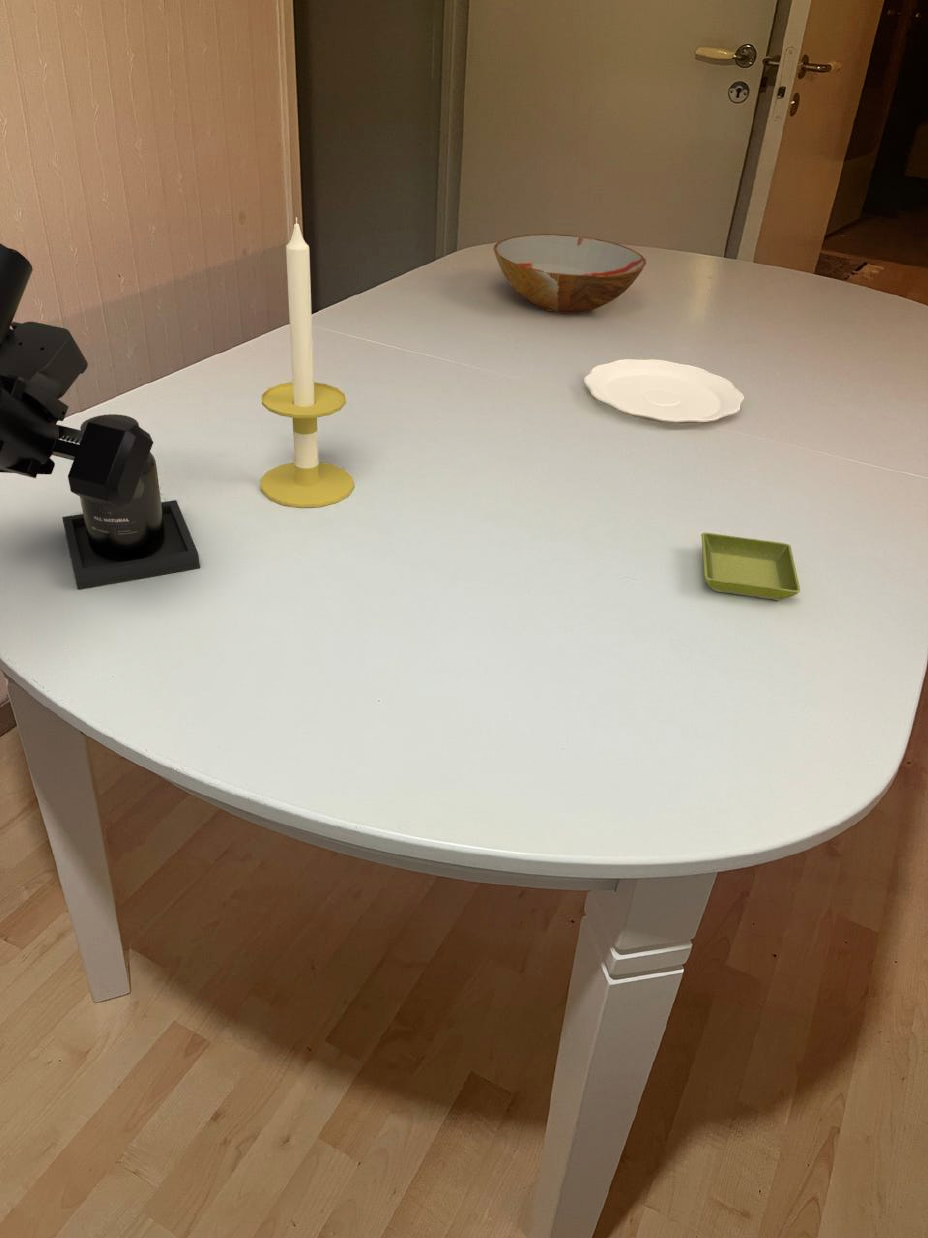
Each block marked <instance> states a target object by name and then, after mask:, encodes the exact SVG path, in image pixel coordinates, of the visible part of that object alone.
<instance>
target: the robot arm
mask: <svg viewBox="0 0 928 1238" xmlns="http://www.w3.org/2000/svg"><path fill="white" fill-rule="evenodd" d="M33 270H34V269H33V265H32V263H31V262H30V261H29V260H28V259H27V258H26V256H25V255H23V254H22V253H21V252H19V251H18V250H16V249H14V248H9V247H7V246H6V245H4V244H3V243H0V473H2V474H3V473H5V474H17V475H20V476H25V477H29V478H32V479H37V477H38V475H52V474H53V472H54V469H55V467H56V462H55V461H54V460H52V456H55V457H59V458H62V459H66V460H69V461H72V464H71V466H70V469H69V472H68V474H67V481H68V485H69V489H70V490H69V491H70V493H72V494H74V495H76V496H77V497H79V498H80V497H83V498H85V499H86V500H89V501H93V502H96V503H100V504H104V505H108V506H111V507H115V508H119V509H123V508H125V507H127V506H128V505H130V504H131V502H132V499H136V498H140V497H141V496H142V493H143V491H144V488H145V486H144V484H143V482H142V479H141V475H142V472H143V469H144V467H145V464H146V461H147V458H148V456H149V453H150V452H151V450H152V448H153V445H154V441H153V438H152V437H151V434H150V433H149V432H147V431H146V430H145V429H143V428H142V427H141V426H140V425H139V426H138V425H136V424H131V423H127V422H123V421H119V420H114V419H110V418H106V417H102V416H99V415H97V416H98V417H97V418H95V419H93V420H91V421H89V422H88V424H87V426H86V429H85V431H82V430H80V429H77V428H74V427H69V426H64V425H61V424H58V422H63V421H64V420H65V418H66V415H67V413H68V410H69V405H67V404H66V403H65V402H63V401H62V400H60V399H61V398H63V397H64V396H65V394H66V393H67V392H68V391H69V389H70V388H71V387H72V385H73V384H74V383H75V381H76V380H77V379H78V377H79V376H81V375H82V374H84V373H85V372H86V370H87V369H88V366H89V362H88V360H87V359H86V357H85V356H84V354H83V352H82V351H81V349H80V347H79V345H78V343H77V342H76V340H75V339H74V336H73V334H72V333H71V332H70V330H69V329H68V328H65V327H60V326H55V325H51V324H46V323H43V322H42V323H41V322H35V321H26V322H25V321H24V322H23V323H22V322H16V321H13V320H14V318H15V315H16V313H17V311H18V308H19V306H20V303H21V300H22V298H23V295H24V293H25V291H26V287H27V286H28V282H29V280H30V278H31V275H32V272H33Z"/></svg>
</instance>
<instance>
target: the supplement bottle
mask: <svg viewBox="0 0 928 1238" xmlns="http://www.w3.org/2000/svg"><path fill="white" fill-rule="evenodd" d="M98 416H102V417H106V418H110V419H114V420H119V421H123V422H127V423H131V424H136V425H138V426H139V427H140V423H139V421H138V420H137V419H135V418H134V417H132V416H129V415H126V414H125V415H124V414H118V413H117V414H116V413H114V414H112V413H109V414H101V415H97V416H93V417H89V418H87V419H86V420H84V421H82V423H81V424H80V427H79V430H82V431H85V429H86V426H87V424H88V422H89V421H91V420H93V419H95V418H97V417H98ZM158 474H159V473H158V467H157V460H156V458H155V456H154V454H153V453H152V452H151V451H150V453H149V456H148V458H147V461H146V464H145V467H144V469H143V472H142V475H141V479H142V482H143V484H144V486H145V488H144V491H143V493H142V496H141V497H140V498H136V499H132V502H131V504H130V505H128V506H127V507H125V508H123V509H119V508H115V507H111V506H108V505H104V504H100V503H96V502H93V501H89V500H86V499H85V498H83V497H80V496H79V501H80V506H81V512H82V514H83V517H84V522H85V527H86V533H87V538H88V542H89V546H90V548H91V550H92V551H93V552H94V553H95V554H96V555H98V556H100V557H102V558H104V559H107V560H111V561H132V560H138V559H143V558H146V557H148V556H150V555H152V554H154V553H155V552H157V551H158V550H159V549H160V548H161V547H162V545H163V544H164V541H165V529H164V520H163V512H162V504H161V502H162V498H161V489H160V482H159V481H160V480H159V475H158Z"/></svg>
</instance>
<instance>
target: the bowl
mask: <svg viewBox="0 0 928 1238" xmlns="http://www.w3.org/2000/svg"><path fill="white" fill-rule="evenodd" d="M493 252H494V256H495V259H496V261H497V263H498V266H499V268H500V271H501V273H502V274H503V275H504V278H505V279H506V280H507V282H509V284H510V285H511V286H512V288H513V289H514V290H515V291H516V292H518V293H519V294H520V295H521V296H523V298H525V299H526V300H528V301H529V302H530V303H532V304H533V305H534V306H536V307H537V308H540V309H543V310H546V311H551V312H555V313H562V314H582V313H583V314H584V313H589V312H592V311H594V310H596V309H598V308H600V307H602V306H604V305H606V304H608V303H610V302H612V301H614V300H616V299H617V298H619V297H620V296H621V295H622V294H624V293H625V292H626V291H627V290H628V289H629V288H631V286H632V285H633V284H634V282H636V280H637V278H639V276H640V274H641V273H642V271H643V270H644V268H645V267H646V265H647V259H646V258H645V257H644V256H643V255H642V254H641V253H640V252H637V251H636V250H634V249H632V248H630V247H628V246H624V245H621V244H619V243H616V242H612V241H609V240H604V239H599V238H594V237H587V236H582V235H574V234H573V235H571V234H558V233H535V234H534V233H533V234H524V235H523V234H522V235H516V236H511V237H508V238H505V239H502V240H499V241H498V242H496V244H494V246H493Z"/></svg>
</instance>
